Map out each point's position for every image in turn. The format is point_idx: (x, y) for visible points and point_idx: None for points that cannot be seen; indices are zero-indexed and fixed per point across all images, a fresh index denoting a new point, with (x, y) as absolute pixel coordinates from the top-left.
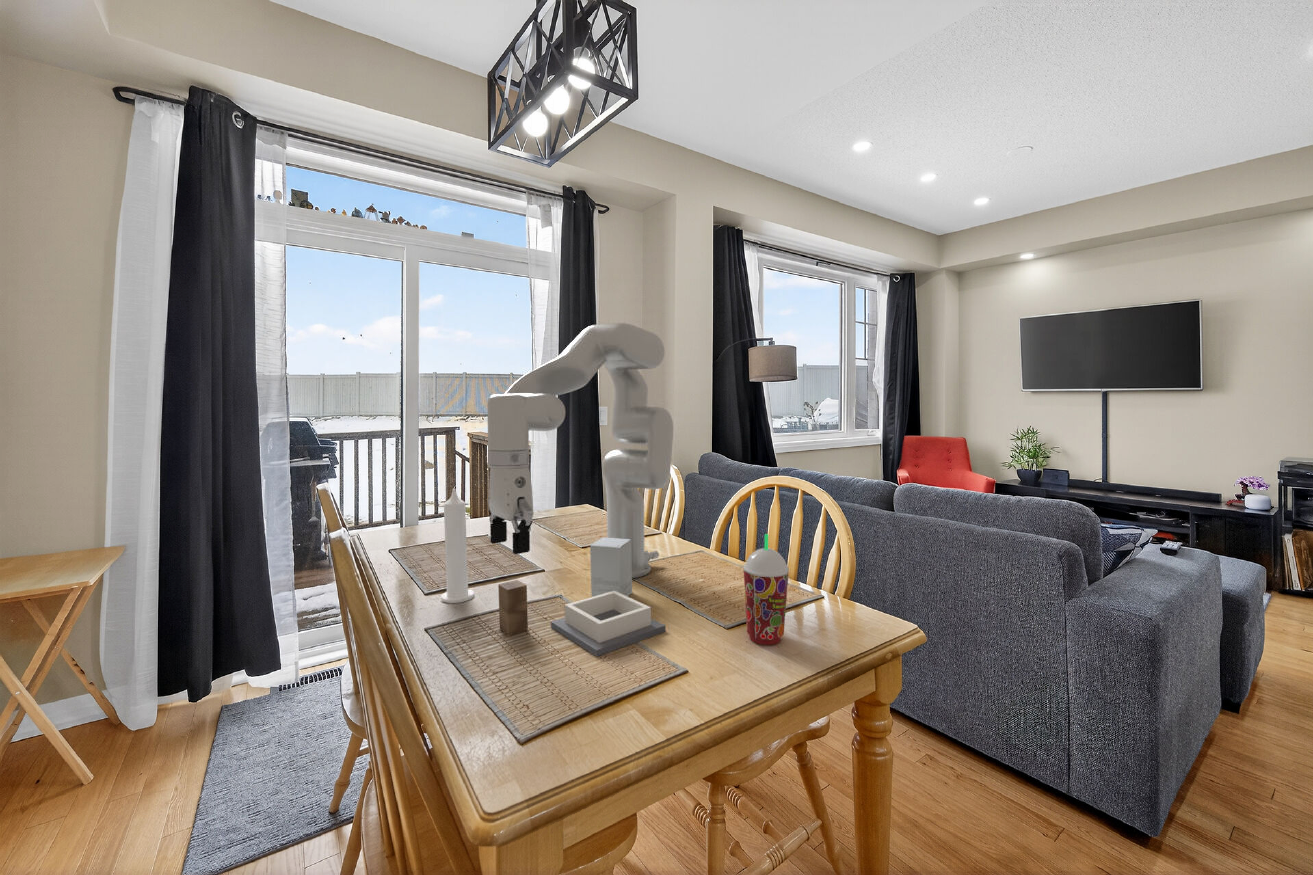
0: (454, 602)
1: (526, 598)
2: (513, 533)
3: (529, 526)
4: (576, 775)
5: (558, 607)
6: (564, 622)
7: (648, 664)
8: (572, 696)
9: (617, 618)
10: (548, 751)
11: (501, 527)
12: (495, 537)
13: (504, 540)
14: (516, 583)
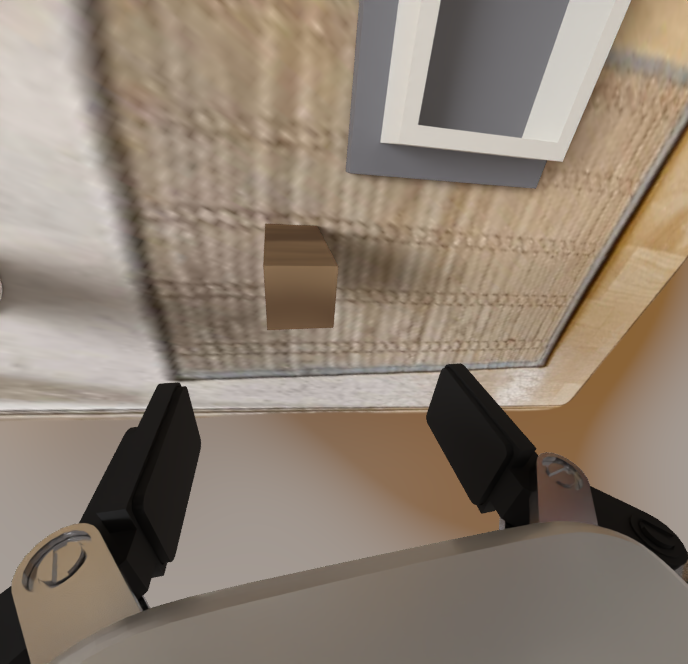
0: (1, 296)
1: (330, 252)
2: (489, 508)
3: (616, 505)
4: (610, 348)
5: (216, 32)
6: (381, 145)
7: (632, 124)
8: (549, 291)
9: (594, 85)
10: (573, 353)
11: (164, 492)
12: (190, 459)
13: (188, 398)
14: (298, 284)
